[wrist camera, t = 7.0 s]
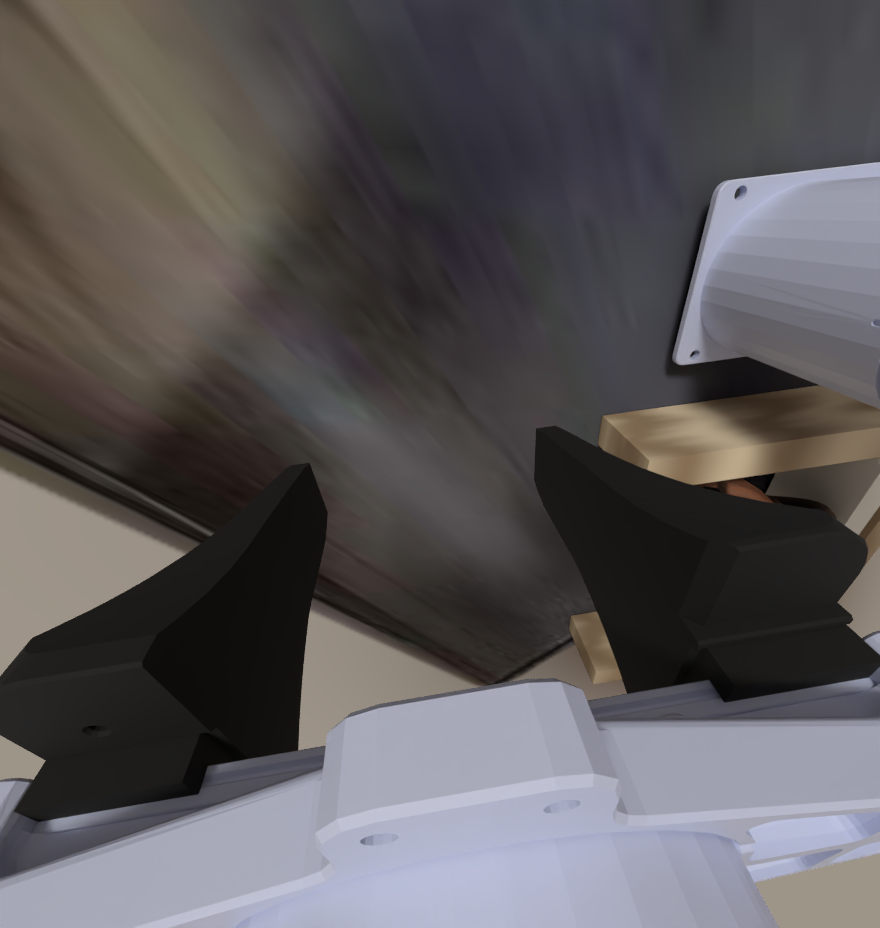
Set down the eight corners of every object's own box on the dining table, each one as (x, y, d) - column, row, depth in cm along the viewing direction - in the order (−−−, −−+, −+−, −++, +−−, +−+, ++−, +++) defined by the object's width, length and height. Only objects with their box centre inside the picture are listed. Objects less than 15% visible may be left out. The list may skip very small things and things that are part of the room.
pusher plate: (822, 419, 24) (911, 462, 20) (733, 590, 34) (780, 643, 30) (800, 423, 24) (884, 466, 20) (716, 593, 34) (762, 646, 30)
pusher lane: (879, 376, 23) (985, 412, 19) (750, 599, 35) (798, 650, 31) (602, 415, 23) (649, 460, 18) (568, 628, 35) (592, 684, 31)
